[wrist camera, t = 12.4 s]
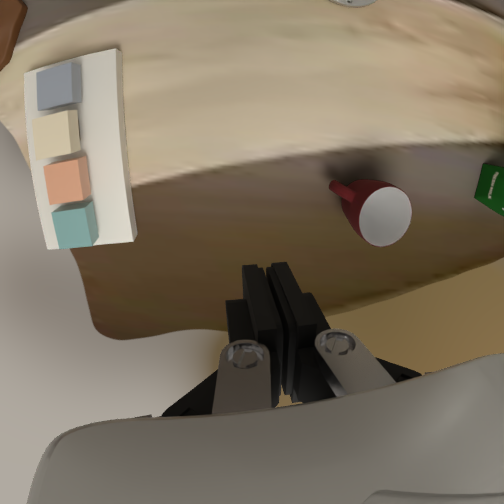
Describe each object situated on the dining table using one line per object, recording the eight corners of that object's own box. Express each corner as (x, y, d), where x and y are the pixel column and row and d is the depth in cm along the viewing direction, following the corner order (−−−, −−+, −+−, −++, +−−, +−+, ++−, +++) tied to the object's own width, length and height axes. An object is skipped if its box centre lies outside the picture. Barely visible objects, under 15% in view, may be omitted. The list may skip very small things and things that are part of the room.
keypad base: (34, 74, 32) (24, 73, 30) (121, 52, 34) (116, 48, 31) (55, 241, 43) (47, 249, 40) (137, 233, 45) (133, 241, 42)
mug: (306, 207, 46) (330, 232, 37) (326, 156, 44) (356, 168, 34) (365, 227, 49) (396, 253, 40) (384, 180, 46) (421, 198, 37)
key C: (62, 158, 37) (43, 166, 32) (93, 152, 38) (77, 159, 33) (67, 192, 40) (49, 205, 34) (98, 188, 40) (83, 200, 35)
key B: (53, 117, 33) (31, 119, 28) (85, 109, 34) (67, 110, 29) (56, 153, 36) (36, 160, 30) (89, 146, 36) (71, 153, 31)
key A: (56, 75, 32) (36, 72, 27) (88, 67, 33) (71, 62, 28) (57, 109, 35) (37, 111, 29) (89, 102, 35) (72, 102, 30)
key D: (68, 199, 40) (51, 212, 34) (99, 195, 40) (84, 208, 35) (75, 232, 42) (59, 249, 37) (105, 229, 43) (92, 246, 37)
